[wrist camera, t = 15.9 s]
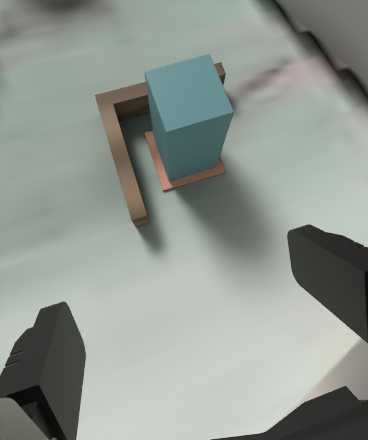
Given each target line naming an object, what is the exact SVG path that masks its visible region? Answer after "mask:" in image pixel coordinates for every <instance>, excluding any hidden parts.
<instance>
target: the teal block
mask: <svg viewBox="0 0 368 440" xmlns="http://www.w3.org/2000/svg"><path fill="white" fill-rule="evenodd" d="M145 78H146V85H147V93H148V100H149V107H150V114H151V122H152V129H153V136H154V140H155V143H156V146H157V149H158V152H159V155H160V157H161V160H162V163H163V166H164V169H165V172H166V175H167V178H168V180H169V182H170V181H173V180H177V179H180V178H183V177H186V176H189V175H193V174H196V173H199V172H202V171H205V170H209V169H212V168H215V167H216V165H217V162H218V159H219V156H220V153H221V150H222V147H223V144H224V141H225V137H226V134H227V131H228V128H229V125H230V122H231V119H232V116H233V113H234V111H233V109H232V106H231V104H230V102H229V99H228V97H227V94H226V92H225V90H224V87H223V85H222V82H221V80H220V78H219V75H218V73H217V70H216V68H215V66H214V63H213V61H212V58H211V56H210V54H208V55H204V56H201V57H197V58H193V59H190V60H186V61H182V62H179V63H175V64H171V65H168V66H164V67H160V68H157V69H153V70H149V71H146V72H145Z"/></svg>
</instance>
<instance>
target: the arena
mask: <svg viewBox="0 0 368 440" xmlns="http://www.w3.org/2000/svg"><path fill="white" fill-rule="evenodd" d="M214 66H215V68H216V70H217V73H218V75H219V78H220V80H221V82H222V85H223V84H224V80H225V75H226V73H225V71H224V68H223V66H222V63H221V62H220V63H216V64H214ZM95 97H96V101H97V104H98V107H99V111H100V114H101V118H102V121H103V124H104V128H105V131H106V135H107V138H108V142H109V145H110V148H111V152H112V155H113V159H114V162H115V165H116V169H117V172H118V176H119V179H120V182H121V186H122V189H123V193H124V196H125V199H126V203H127V206H128V210H129V213H130V216H131V220H132V222H133V223H134V225H135V227H137V226H140V225H144V224H147V223H150V222H149V219H148V216H147V213H146V209H145V206H144V203H143V199H142V196H141V193H140V190H139V186H138V183H137V180H136V177H135V173H134V170H133V167H132V163H131V160H130V157H129V154H128V150H127V147H126V144H125V141H124V137H123V134H122V131H121V127H120V124H119V120H123V119H126V118H130V117H134V116H137V115H141V114H145V113H148V112H150V107H149V100H148V93H147V85H146V82H144V83H140V84H136V85H132V86H128V87H125V88H121V89H117V90H113V91H109V92H105V93H102V94H98V95H95ZM144 133H145V136H146V140H147V143H148V146H149V149H150V152H151V155H152V158H153V161H154V164H155V167H156V171H157V174H158V177H159V180H160V183H161V186H162V189H163V191H165V190H168V189H172V188H175V187H178V186H182V185H185V184H188V183H192V182H195V181H198V180H202V179H205V178H209V177H212V176H215V175H219V174H222V173H225V169H224V166H223V164H222V161H221V158H220V156H219V159H218V162H217V165H216V167H215V168H212V169H209V170H205V171H202V172H199V173H196V174H193V175H189V176H186V177H183V178H180V179H177V180H173V181H170V182H169V180H168V178H167V175H166V172H165V169H164V166H163V163H162V160H161V157H160V155H159V152H158V149H157V146H156V143H155V140H154V136H153V130H151V131H148V132H144Z"/></svg>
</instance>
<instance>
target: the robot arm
mask: <svg viewBox="0 0 368 440" xmlns="http://www.w3.org/2000/svg"><path fill="white" fill-rule="evenodd" d="M287 238H288V246H289V253H290V261H291V268H292V272H293V275H294V278H295V279H296V281H297V283H298V284H299V285H300V286H301V287H302V288H304V289H305V290H306V291H307V292H308V293H309V294H311V295H312V296H313V297H314V298H315V299H316V300H318V301H319V302H320V303H321V304H322V305H323V306H325V307H326V308H327V309H328V310H329V311H331V312H332V313H333V314H334V315H335V316H336V317H338V318H339V319H340V320H341V321H342V322H343V323H345V324H346V325H347V326H348V327H349V328H350V329H352V330H353V331H354V332H355V333H356V334H357V335H359V336H360V337H361V338H362V339H363V340H365V341H366V342H367V343H368V247H364V245H361V244H359V243H357V242H354V241H353V240H351V239H349V238H347V237H345V236H343V235H338V234H333V233H328V232H327V233H326V232H324V231H322V230H320V229H318V228H316V227H314V226H312V225H310V224H308V225H305V226H302V227H299V228H296V229H292V230H290V231H289V232H288V235H287ZM85 360H86V353H85V346H84V342H83V339H82V337H81V335H80V332H79V330H78V327H77V325H76V323H75V320H74V318H73V316H72V313H71V311H70V308H69V306H68V305H67V303H66V302H61V303H58V304H55V305H51V306H48V307H45V308H42V309H40V311H39V314H38V316H37V319H36V321H35V324H34V326H33V327H32V328H29V329H27V330H26V331H25V332H24V333H23V334H22V335H21V336H20V338H19V339H18V340H17V341H16V342H15V344H14V347H13V349H12V351H11V353H10V357H9V358H8V360H7V362H6V364H5V366H6V367H5V368H4V369H3V371H2V373H1V375H0V440H76V436H77V428H78V419H79V411H80V402H81V394H82V385H83V377H84V368H85ZM211 440H368V400H358V399H357V398H356V397H355V396H354V395H353V394H352V392H351V391H350V390H349V389H348V388H347V387H346V386H344V387H342V388H339V389H337V390H334V391H332V392H329V393H327V394H324V395H322V396H319V397H317V398H314V399H312V400H309V401H307V402H304V403H303V404H301V405H300V406H299V407H298V408H297V409H295V410H294V411H292V412H291V413H290V414H288V415H287V416H286V417H285V418H283V419H282V420H281V421H279V422H278V423H277V424H276V425H274V426H273V427H272V428H270V429H269V430H268V431H266V432H264V433H260V434H252V435H244V436H236V437H228V438H220V439H211Z"/></svg>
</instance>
